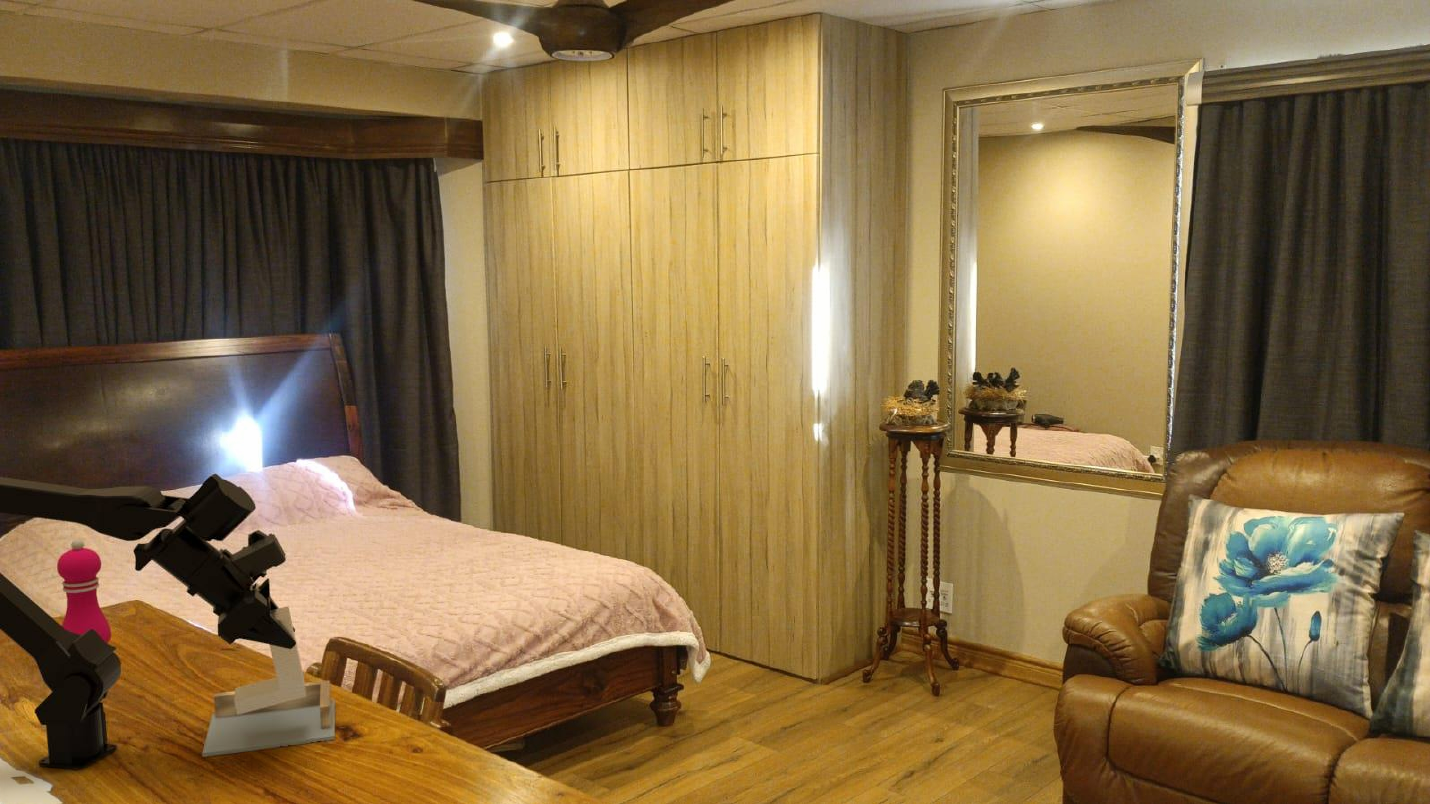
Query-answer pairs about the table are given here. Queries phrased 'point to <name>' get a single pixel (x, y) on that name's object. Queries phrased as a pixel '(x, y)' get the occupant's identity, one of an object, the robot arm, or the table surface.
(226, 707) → the board walls
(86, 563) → the pepper mill
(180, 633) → the table surface
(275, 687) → the bracket
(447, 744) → the table surface
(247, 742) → the slate board
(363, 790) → the table surface
